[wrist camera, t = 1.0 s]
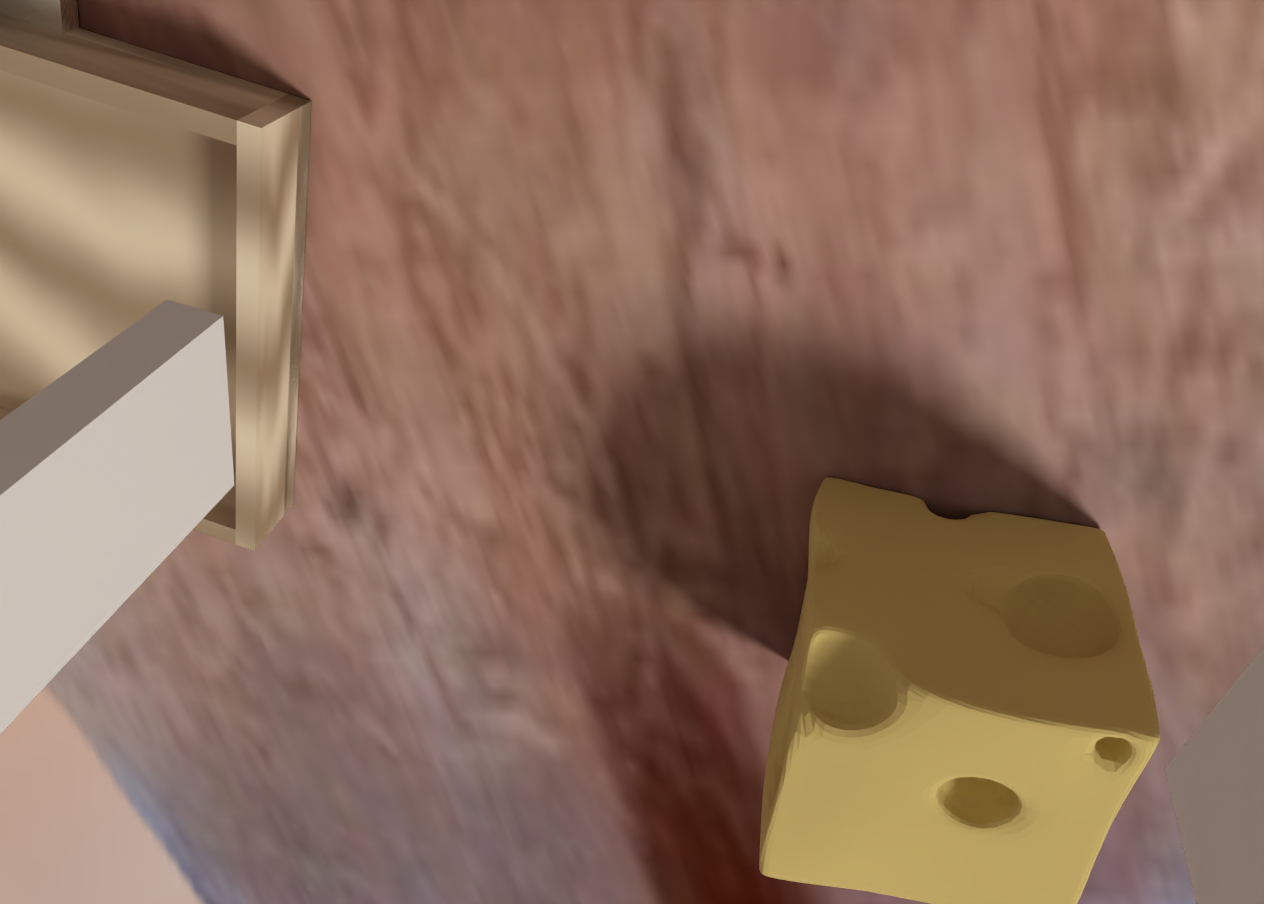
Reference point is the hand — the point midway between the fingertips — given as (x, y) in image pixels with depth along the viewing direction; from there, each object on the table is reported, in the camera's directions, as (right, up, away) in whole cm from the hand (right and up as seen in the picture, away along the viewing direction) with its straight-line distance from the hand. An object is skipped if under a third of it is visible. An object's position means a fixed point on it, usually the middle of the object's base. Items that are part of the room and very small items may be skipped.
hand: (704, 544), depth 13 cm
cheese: (+11, -5, +27) cm, 29 cm away
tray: (-22, +9, +26) cm, 35 cm away
